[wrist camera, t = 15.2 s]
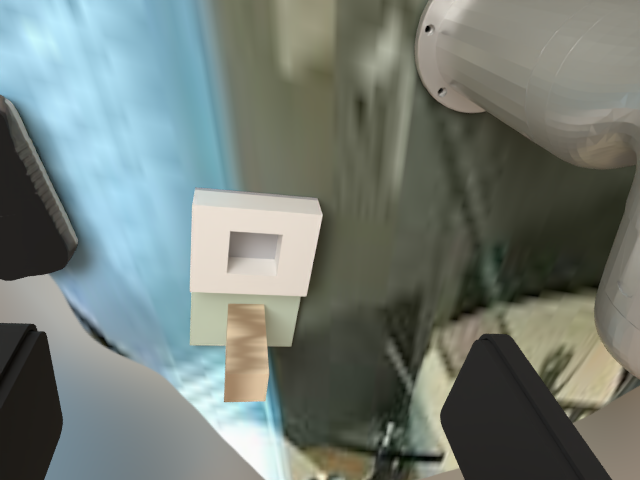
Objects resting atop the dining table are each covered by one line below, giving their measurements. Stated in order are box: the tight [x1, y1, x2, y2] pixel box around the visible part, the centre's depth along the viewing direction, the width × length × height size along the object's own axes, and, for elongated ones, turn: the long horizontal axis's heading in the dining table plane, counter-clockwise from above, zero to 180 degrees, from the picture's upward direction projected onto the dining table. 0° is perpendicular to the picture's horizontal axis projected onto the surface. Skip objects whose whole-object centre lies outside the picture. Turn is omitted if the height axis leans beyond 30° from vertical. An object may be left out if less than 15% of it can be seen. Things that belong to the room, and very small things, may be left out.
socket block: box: [190, 187, 323, 296], centre depth 45 cm, size 12×10×4 cm
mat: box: [190, 292, 301, 347], centre depth 52 cm, size 12×9×1 cm
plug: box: [224, 304, 269, 402], centre depth 47 cm, size 4×4×10 cm
